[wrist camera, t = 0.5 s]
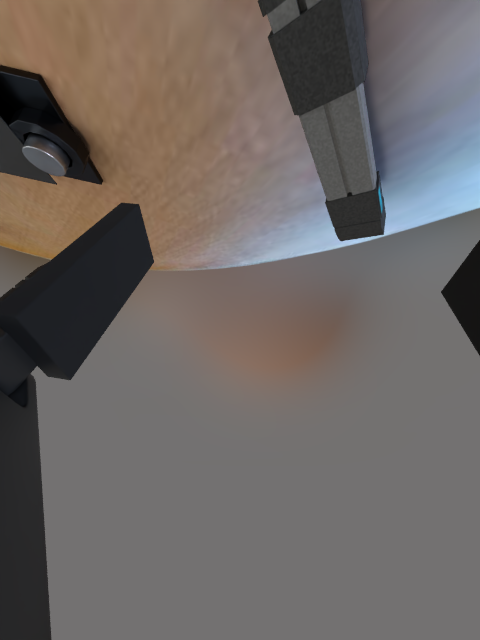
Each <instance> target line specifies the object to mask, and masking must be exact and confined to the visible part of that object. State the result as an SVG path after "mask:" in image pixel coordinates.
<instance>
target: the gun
mask: <svg viewBox="0 0 480 640" xmlns="http://www.w3.org/2000/svg"><path fill="white" fill-rule="evenodd" d="M258 3H259V6H260V9H261V12H262V15H263V17H264V16H265V15H266V14H267V16H268V19H269V22H270V25H271V28H272V30H271V32H270V34H269V36H268V40H269V42H270V45H271V48H272V51H273V54H274V57H275V60H276V63H277V66H278V69H279V71H280V74H281V77H282V80H283V83H284V86H285V89H286V92H287V95H288V98H289V100H290V103H291V106H292V109H293V112H294V115H299V117H300V120H301V123H302V126H303V129H304V132H305V135H306V138H307V141H308V144H309V147H310V150H311V153H312V156H313V159H314V162H315V165H316V168H317V171H318V174H319V177H320V180H321V183H322V186H323V189H324V192H325V195H326V202H325V203H326V206H327V209H328V212H329V215H330V218H331V221H332V224H333V227H334V228H335V232H336V235H337V236H338V239H339V240H340V241H345V240H351V239H358V238H364V237H371V236H377V235H384V226H385V218H386V213H385V206H384V198H383V197H382V190H381V182H380V176H379V171H377V172H376V167H375V160H374V153H373V146H372V139H371V133H370V126H369V119H368V112H367V105H366V99H365V92H364V85H363V82H365V78H366V73H367V68H368V56H367V48H366V40H365V32H364V25H363V17H362V9H361V1H360V0H258Z"/></svg>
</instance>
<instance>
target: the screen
mask: <svg viewBox="0 0 480 640" xmlns="http://www.w3.org/2000/svg"><path fill="white" fill-rule="evenodd" d="M23 146H24V144H23V143H22V142H21V141H20V139H19V138H18V137H17V136H16V135H15V133H14V132H13V131H12V130H11V129H10V127H9V126H8V125H7V124H6V123H5V122H4V120H3V119H2V118H1V117H0V172H2V173H7V174H11V175H16V176H20V177H25V178H29V179H34V180H38V181H43V182H47V183H52V184H56V185H57V183H56V182H55V181H54V180H53V178H52V177H51V176H50V175H49V174H48V173H46V172H44V171H42V170H40V169H39V168H37V167H36V166H34V165H33V164H32V163H31V162H30V161H29V160H28V159H27V158H26V157H25V156H24V154H23V152H22V148H23Z"/></svg>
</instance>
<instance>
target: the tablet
mask: <svg viewBox="0 0 480 640" xmlns="http://www.w3.org/2000/svg"><path fill="white" fill-rule="evenodd" d="M0 117H1V118H2V119H3V120H4V122H5V123H6V124H7V125H8V126H9V127H10V129H11V130H12V131H13V132H14V133H15V135H16V136H17V137H18V138H19V139H20V141H21V142H22V143H23V144H25V141H26V139H27V137H28V135H29V134H30V133H36V134H41V135H43V136H45V137H46V138H48V139H50V140H52V141H54V142H55V143H57V144H58V145H59V146H60V147H61V148H63V149H64V150H65V151H66V152H67V153H68V155H69V156H70V164H69V166H68V169H67V171H66V174H65V175H64V176H65V177H69V178H74V179H78V180H83V181H87V182H92V183H96V184H101V185H102V182H103V180H102V178H101V176H100V175H99V173H98V171H97V170H96V168H95V166H94V165H93V163H92V161H91V160H90V158H89V152H88V151H87V149H86V147H85V145H84V144H83V142H82V140H81V139H80V138H79V137H78V136H77V135H76V134H75V133H74V131H73V129H72V127H71V126H70V124H69V122H68V121H67V119H66V117H65V116H64V114H63V112H62V111H61V109H60V107H59V105H58V104H57V102H56V100H55V99H54V97H53V95H52V94H51V92H50V90H49V89H48V87H47V85H46V84H45V82H44V80H43V78H42V77H41V75H38V74H34V73H30V72H25V71H21V70H17V69H13V68H9V67H5V66H0Z"/></svg>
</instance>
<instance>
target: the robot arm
mask: <svg viewBox="0 0 480 640" xmlns="http://www.w3.org/2000/svg"><path fill="white" fill-rule="evenodd" d="M153 263H154V260H153V256H152V252H151V248H150V244H149V240H148V237H147V233H146V229H145V225H144V221H143V218H142V214H141V210H140V206H139V204H130V203H121V204H119V205H118V206H117V207H116V208H114V209H113V210H112V211H111V212H110V213H108V214H107V215H106V216H105V217H103V218H102V219H101V220H100V221H99V222H97V223H96V224H95V225H94V226H92V227H91V228H90V229H89V230H88V231H86V232H85V233H84V234H83V235H81V236H80V237H79V238H78V239H76V240H75V241H74V242H73V243H72V244H70V245H69V246H68V247H67V248H65V249H64V250H63V251H62V252H61V253H59V254H58V255H57V256H56V257H54V258H53V259H52V260H51V261H50V262H48V263H46V264H44V265H42V266H40V267H38V268H37V269H35V270H34V271H33V272H32V273H30V274H29V275H28V276H27V277H25V280H22V281H20V282H19V283H18V284H17V285H15V288H12V289H10V290H9V291H8V292H7V293H6V294H4V295H3V296H2V297H0V640H51V627H50V611H49V595H48V577H47V561H46V545H45V531H44V530H45V528H44V513H43V495H42V481H41V462H40V446H39V429H38V413H37V397H36V382H35V379H34V377H33V376H32V375H31V374H30V373H31V372H32V371H33V370H34V369H35V367H36V366H38V367H39V368H40V369H41V370H42V371H43V372H44V373H45V374H46V375H47V376H48V377H54V378H61V379H66V380H71V379H72V377H73V376H74V374H75V373H76V372H77V370H78V369H79V367H80V366H81V364H82V363H83V362H84V360H85V359H86V358H87V356H88V355H89V353H90V352H91V350H92V349H93V348H94V346H95V345H96V343H97V342H98V340H99V339H100V338H101V336H102V335H103V334H104V332H105V331H106V329H107V328H108V326H109V325H110V324H111V322H112V321H113V319H114V318H115V317H116V315H117V314H118V312H119V311H120V309H121V308H122V307H123V305H124V304H125V302H126V301H127V300H128V298H129V297H130V295H131V294H132V293H133V291H134V290H135V288H136V287H137V285H138V284H139V282H140V281H141V280H142V278H143V277H144V276H145V274H146V273H147V271H148V270H149V269H150V267H151V266H152V264H153ZM441 293H442V295H443V296H444V298H445V299H446V301H447V303H448V304H449V306H450V308H451V309H452V311H453V313H454V314H455V316H456V317H457V319H458V321H459V323H460V324H461V326H462V327H463V329H464V331H465V332H466V334H467V336H468V337H469V339H470V341H471V342H472V344H473V346H474V347H475V349H476V350H477V352H478V354H479V355H480V240H479V242H478V243H477V244H476V246H475V247H474V248H473V250H472V251H471V253H470V254H469V255H468V256H467V258H466V259H465V261H464V262H463V263H462V265H461V266H460V267H459V269H458V270H457V271H456V273H455V274H454V275H453V277H452V278H451V279H450V281H449V282H448V283H447V285H446V286H445V287H444V289H443V290H442V291H441Z"/></svg>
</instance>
